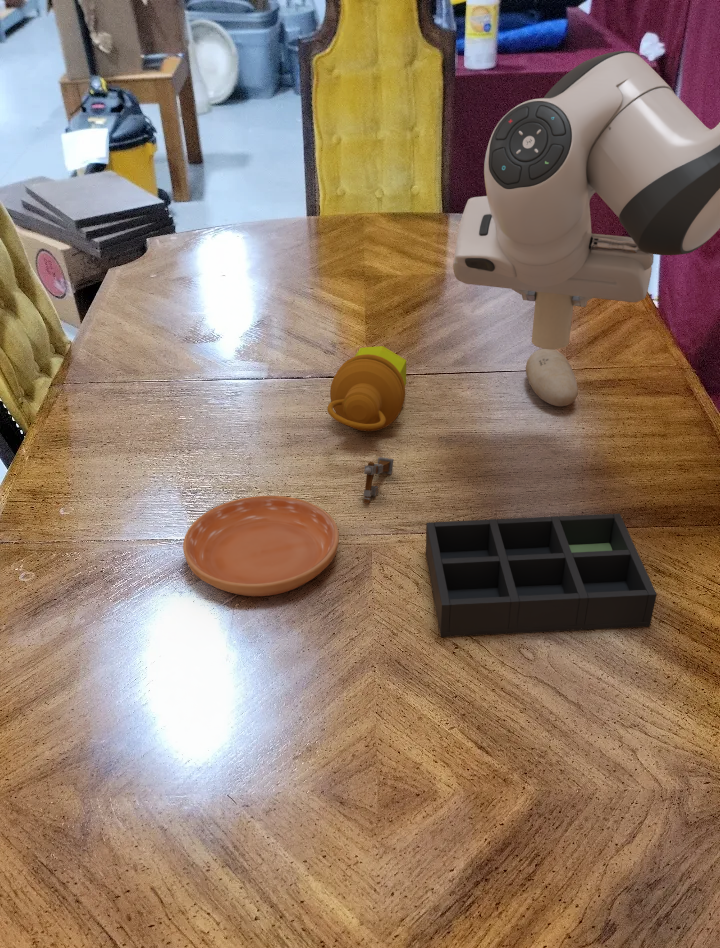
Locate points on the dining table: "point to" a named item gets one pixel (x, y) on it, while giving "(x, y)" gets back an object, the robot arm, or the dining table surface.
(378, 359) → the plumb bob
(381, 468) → the wooden post with brackets
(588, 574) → the grid
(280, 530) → the saucer
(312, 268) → the dining table surface
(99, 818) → the dining table surface
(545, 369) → the stone
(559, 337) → the cylinder
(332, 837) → the dining table surface
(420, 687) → the dining table surface
